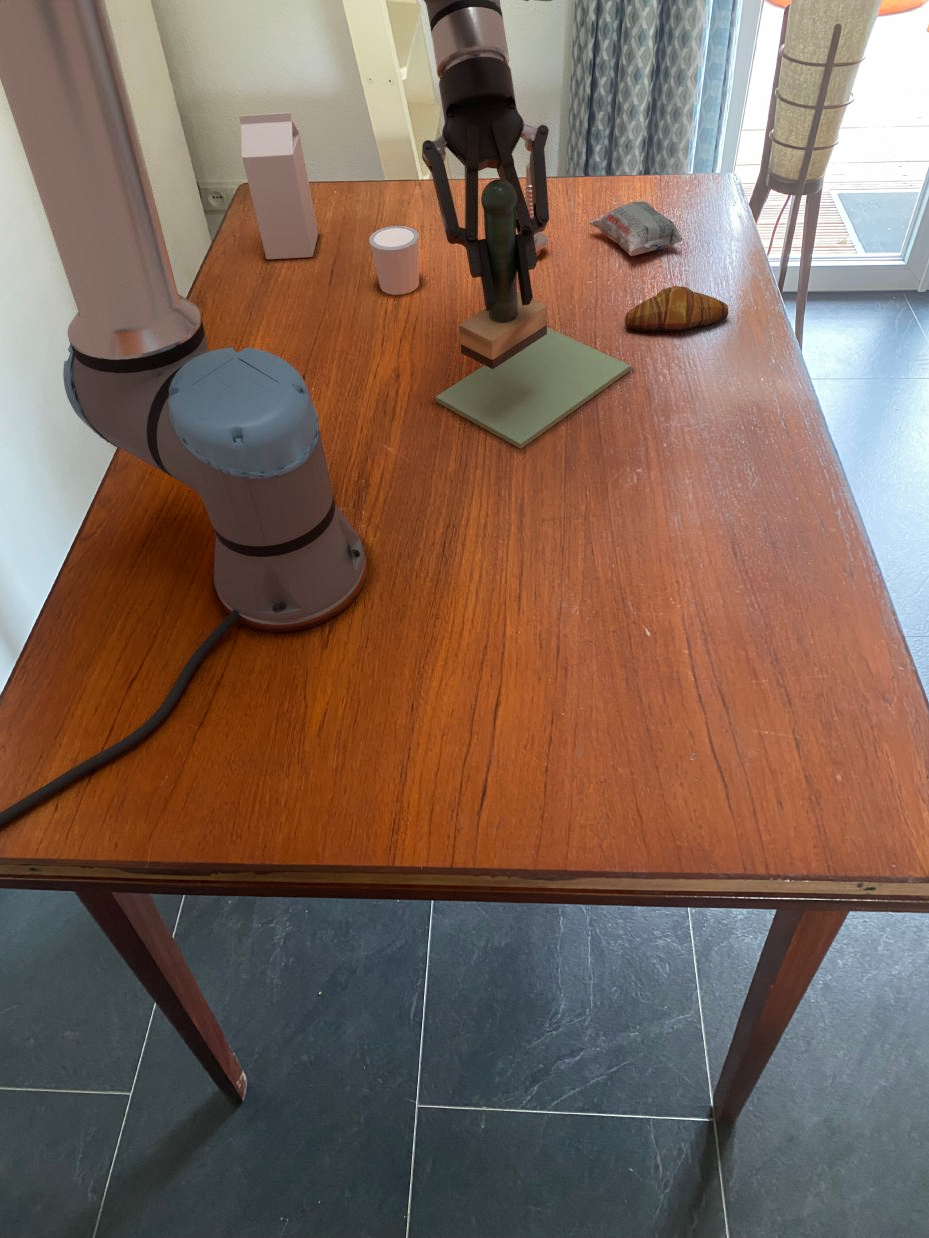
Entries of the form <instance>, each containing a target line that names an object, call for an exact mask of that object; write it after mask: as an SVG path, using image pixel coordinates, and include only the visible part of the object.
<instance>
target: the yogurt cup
mask: <svg viewBox="0 0 929 1238" xmlns="http://www.w3.org/2000/svg"><path fill="white" fill-rule="evenodd" d="M419 237H420V235H419V232H418V231H417V230H416V229H415V228H412V227H410V226H403V225H390V226H386V227H382V228H380V229H378V230H376V231H374V232H372V234H371V235H370V236H369V240H368V243H369V247H370V251H371V255H372V260H373V263H374V267H375V272H376V277H377V281H378V284H379V288H380V289H381V291H382V292H383V293H385V294H387V295H393V296H398V295H399V296H401V295H407V294H410V293H412V292H413V291H415V290H416V289H417V288H418V287H419V286H420V251H419V250H420V247H419V246H420V242H419V241H420V240H419V239H420V238H419Z"/></svg>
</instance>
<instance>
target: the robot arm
mask: <svg viewBox="0 0 929 1238" xmlns="http://www.w3.org/2000/svg"><path fill="white" fill-rule="evenodd" d="M523 1H524V2H529V1H530V0H523ZM536 1H538V2H551V1H553V0H535V2H536ZM423 2H424V4H425V5H426V10H427V17H428V21H429V22H428V23H429V27H430V35H431V39H432V46H433V54H434V61H435V66H436V75H437V77H438V79H439V82H438V90H439V96H440V101H441V107H442V114H443V120H444V123H443V127H442V130H441V132H442V133H441V135H440V136H438V137H436V138H435V139H434V140H430V139H426V140H424V141H423V143H422V144H421V145H422V148H421V159H422V160H423V163H424V164H425V165H426V167H427V169H428V170H429V172H430V173H431V178H432V180H433V185H434V190H435V195H436V199H437V202H438V207H439V211H440V216H441V219H442V224H443V228H444V231H445V237H446V241H447V242H448V243H449V244H450V245H456V244H457V245H461V246H463V247H464V248H465V251H466V256H467V257H466V258H467V263H468V268H469V269H468V270H469V275H470V276H471V278H472V279H474V278H475V279H476V278H480V281H481V286H482V287H481V288H482V293H483V300H484V307H485V309H486V311H489V310H493V309H494V306H495V303H496V302H495V296H494V289H493V283H492V276H491V269H490V263H489V256H488V250H487V243H486V239H485V238H481V239H479V172H481V171H482V170H485V169H493V170H494V169H496V172H497V175H498V177H499V178H498V179H503V180H506V181H508V182H509V183H511V184H512V185H513V187H514V188H515V190H516V193H517V205H516V252H517V281H518V287H519V293H520V294H521V300H522V306H523V305H529V304H530V302H531V300H532V299H533V298H534V295H533V290H532V289H533V288H532V284H531V283H532V281H531V275H530V271H532V270H535V269H536V266H537V262H538V257H537V255H536V248H535V242H534V235H535V234H536V233H538V232H541V233H543V232H544V231H545V230H546V228H547V226H548V223H549V221H550V208H549V195H548V181H547V167H546V166H547V165H546V154H545V148H546V144H547V140H548V136H549V132H550V129H549V127H548V126H547V125H545V124H540V125H539V126H538V127H535V126H532V125H530V124H527V123H525V122H524V121H525V120H524V119H523V117H522V115H521V114H520V112H519V111H518V107H517V102H516V95H515V89H514V83H513V75H512V69H511V66H510V65H509V63H510V55H509V48H508V41H507V36H506V31H505V30H506V29H505V24H504V17H503V11H502V6H501V0H423ZM0 82H1V85H2V88H3V91H4V94H5V97H6V101H7V104H8V106H9V109H10V112H11V115H12V118H13V122H14V124H15V127H16V130H17V133H18V137H19V139H20V142H21V144H22V149H23V151H24V154H25V157H26V160H27V163H28V166H29V168H30V172H31V174H32V177H33V180H34V183H35V187H36V190H37V193H38V196H39V198H40V201H41V204H42V208H43V211H44V213H45V216H46V219H47V222H48V225H49V228H50V231H51V234H52V237H53V241H54V243H55V247H56V249H57V252H58V255H59V259H60V261H61V264H62V267H63V270H64V273H65V276H66V279H67V281H68V284H69V287H70V291H71V294H72V297H73V299H74V302H75V305H76V308H77V313H76V315H75V316H74V317H73V319H72V320H71V321H70V323H69V325H68V327H67V338H68V342H69V346H68V348H67V351H68V352H69V355H68V359H67V360H64V361H63V370H62V371H63V374H62V377H63V379H62V380H63V385H64V391H65V394H66V397H67V399H68V402H69V403H70V406H71V407H72V410H73V412H74V413H75V414H76V416H78V418H79V419H80V420H81V421H82V423H83V424H85V425H86V426H87V427H88V428H89V429H91V430H92V432H94V433H95V434H96V435H97V436H98V437H99V438H100V439H102V440H104V441H105V442H107V443H108V444H110V445H112V446H113V447H115V448H119V449H121V450H124V451H125V452H127V453H129V454H131V455H132V456H134V457H136V458H137V459H139V460H141V461H142V462H145V463H147V464H148V465H149V466H152V467H154V468H156V469H157V470H159V471H161V472H163V473H164V474H166V475H168V476H170V477H172V478H174V479H175V480H177V481H179V482H180V483H182V484H184V485H185V486H187V487H188V488H190V489H192V490H194V491H195V492H196V493H197V495H199V497H200V498H201V500H202V502H203V504H204V507H205V510H206V512H207V515H208V518H209V521H210V523H211V526H212V528H213V531H214V534H215V544H214V564H213V565H214V566H213V582H214V587H215V590H216V593H217V595H218V598H219V600H220V603H221V605H222V606H223V608H224V609H225V611H226V613H228V615H227V616H226V617H225V618H224V619H223V620H222V621H221V623H220V624H218V626H216V628H215V629H214V630H213V631H212V632H211V633H210V634H209V635H208V636H207V637H206V638H205V640H203V642H202V643H201V644H200V645H199V646H198V647H197V648H196V649H195V651H194V652H193V653H192V655H191V656H190V657H189V659H188V661H187V662H186V664H184V667H183V668H182V669H181V671H180V673H179V675H178V676H177V679H176V681H175V683H174V684H173V685H172V687H171V689H170V691H169V693H168V695H167V696H166V698H165V699H164V701H163V702H162V703H161V705H160V706H159V708H158V709H156V711H155V712H154V713H153V714H152V715H151V716H150V717H149V718H148V719H147V720H146V721H145V722H144V723H143V724H142V725H140V726H139V727H138V728H137V729H136V730H134V731H133V732H132V733H130V734H129V735H127V736H126V737H124V738H123V739H121V740H120V741H118V742H116V743H115V744H113V745H111V746H110V747H108V748H106V749H104V750H103V751H100V752H99V753H97V754H95V755H92V756H91V757H90V758H88V759H86V760H84V761H82V762H80V763H79V764H78V765H76V766H74V767H72V768H71V769H69V770H67V771H66V772H64V773H62V774H60V775H59V776H57V777H56V778H55V779H52V780H51V781H50V782H48V783H46V784H45V785H44V786H43V785H42V786H41V787H40V788H38V789H37V790H35V791H34V792H32V793H30V794H28V795H27V796H25V797H24V798H22V799H21V800H19V801H17V802H15V803H14V804H12V805H10V806H9V807H8V808H6V809H4V810H3V811H1V812H0V827H2V826H4V825H5V824H7V823H9V822H10V821H12V820H14V819H15V818H16V817H18V816H19V815H21V814H23V813H25V812H26V811H27V810H30V809H31V808H32V807H34V806H36V805H38V804H40V802H42V801H44V800H45V799H47V798H49V797H50V796H52V795H53V794H55V793H57V792H59V791H60V790H62V789H63V788H65V787H66V786H68V785H69V784H71V783H72V782H74V781H76V780H77V779H79V778H81V777H83V776H84V775H86V774H88V773H89V772H91V771H93V770H94V769H96V768H99V767H100V766H102V765H103V764H105V763H107V762H109V761H111V760H113V759H114V758H116V757H118V756H119V755H121V754H123V753H124V752H126V751H128V750H129V749H131V748H132V747H134V746H135V745H137V744H138V743H139V742H141V741H142V740H144V738H146V737H147V736H148V735H149V734H150V733H152V732H153V731H154V730H156V728H157V727H158V726H159V725H161V723H162V722H163V721H164V720H165V719H166V718H167V716H168V715H169V714H170V713H171V712H172V710H173V709H174V708H175V706H176V705H177V703H178V701H179V700H180V698H181V696H182V694H183V692H184V691H185V689H186V687H187V685H188V683H189V681H190V679H191V678H192V676H193V674H194V672H195V671H196V669H197V668H198V666H199V665H200V663H201V662H202V661H203V659H204V658H205V657H206V656H207V654H208V653H209V652H210V651H211V650H212V649H213V647H215V646H216V644H217V643H218V642H219V641H221V639H222V638H223V637H224V636H225V635H226V633H228V631H229V630H230V629H231V628H232V627H233V626H234V625H235V624H236V623H237V622H238V623H240V624H242V625H245V626H246V627H249V628H251V629H254V630H259V631H264V632H273V633H285V632H287V633H288V632H295V631H301V630H305V629H309V628H312V627H315V626H318V625H320V624H322V623H325V622H326V621H329V620H330V619H332V618H334V617H336V616H338V615H339V614H341V612H343V611H344V610H345V609H346V608H347V607H348V606H350V605H351V604H352V603H353V601H354V600H355V599H356V598H357V596H358V595H359V593H360V592H361V590H362V589H363V587H364V584H365V582H366V580H367V579H366V578H367V573H368V561H367V557H366V552H365V551H366V550H365V547H364V544H363V541H362V539H361V537H360V536H359V534H358V532H357V531H356V529H355V528H354V527H353V526H352V524H351V523H350V521H349V520H348V518H347V516H345V515H344V513H343V512H342V510H341V509H340V507H339V506H338V504H337V503H336V501H335V496H334V492H333V488H332V483H331V478H330V474H329V468H328V463H327V459H326V454H325V449H324V445H323V440H322V435H321V429H320V425H319V416H318V412H317V408H316V407H315V404H314V401H313V399H312V397H311V394H310V391H309V389H308V387H307V384H306V382H305V379H304V378H303V377H302V375H301V374H300V373H299V371H298V370H297V369H296V368H295V367H294V366H293V365H292V364H291V363H289V362H288V361H287V360H285V359H283V358H282V357H280V356H278V355H276V354H274V353H271V352H269V351H266V350H262V349H257V348H252V347H244V348H243V349H242V350H240V351H236V350H235V348H234V347H225V348H217V349H213V350H210V348H209V343H208V340H207V335H206V331H205V326H204V323H203V318H202V314H201V311H200V309H199V308H198V306H197V305H196V304H195V303H194V302H193V301H191V300H189V299H188V298H186V297H185V296H183V295H181V294H179V292H178V289H177V284H176V281H175V276H174V271H173V267H172V263H171V260H170V255H169V252H168V248H167V244H166V240H165V236H164V232H163V228H162V225H161V220H160V216H159V212H158V207H157V204H156V200H155V195H154V192H153V191H154V190H153V188H152V183H151V180H150V175H149V172H148V168H147V164H146V159H145V156H144V152H143V148H142V143H141V140H140V135H139V132H138V128H137V122H136V119H135V115H134V111H133V109H132V103H131V100H130V96H129V92H128V88H127V84H126V80H125V75H124V71H123V67H122V64H121V59H120V56H119V51H118V47H117V43H116V40H115V36H114V31H113V27H112V25H111V20H110V16H109V11H108V7H107V4H106V0H0ZM520 139H523V141H524V148H525V149H526V151H528V152H530V154H529V163H530V174H531V188H532V202H533V215H534V218H532V219H531V217H530V214H529V211H528V208H527V204H526V199H525V194H524V192H523V189H522V185H521V182H520V179H519V177H518V173H517V170H516V167H515V160H514V159H515V158H514V156H513V153H514V151H515V149H516V147H517V145H518V143H519V141H520ZM446 149H447V150H448V151H450V152H451V154H453V156H454V157H455V158H456V159H457V160H458V162H460V163H461V164H462V165H463V166H464V227H461V226H460V223H459V219H458V216H457V212H456V207H455V204H454V198H453V194H452V189H451V185H450V182H449V181H450V180H449V177H448V172H447V169H446V165H445V161H446V156H447V153H446Z"/></svg>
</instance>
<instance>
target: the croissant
mask: <svg viewBox="0 0 929 1238" xmlns="http://www.w3.org/2000/svg"><path fill="white" fill-rule="evenodd" d="M728 316H729V305H728V304H727V303H725V302H723V301H721V300H720V299H718V298H716V297H714V296H710V295H707V294H704V293H702V292H696V291H694V290H692V289H690V288H689V287H687V286H678V285H673V286H668V287H666V288H662V289H661V290H660V291H659V292H657V293H656V295H654V296H651V297H650V298H647V299H646V300H644V301H642V302H641V303H639V304H637V305H635V306H634V307H633V308H631V309H630V310H629V311H627V312H626V314H625V317H624V325H625V327H626V328H627V329H631V330H635V331H643V332H657V331H667V332H668V331H670V332H680V331H681V332H682V331H685V330H689V329H694V328H697V327H705V326H709V325H713V324H717V323H719V322H721V321H724V320H726V319H727V318H728Z"/></svg>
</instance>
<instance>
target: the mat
mask: <svg viewBox="0 0 929 1238" xmlns="http://www.w3.org/2000/svg"><path fill="white" fill-rule="evenodd" d="M630 371H631V364H628V363H626V362H624V361H622V360H619V359H617V358H615V357H613V356H610V355H608V354H607V353H604V352H602V351H600V350H598V349H595V348H593V347H591V346H589V345H587V344H585V343H582V342H581V341H578V340H576V339H574V338H572V337H569V336H568V335H566V334H563V333H561V332H559V331H557V330H554V329H552V328H551V327H548V326H547V334H546V335H545V336H543V337H542V338H540V339H539V340H537V341H536V342H534V343H533V344H531V345H529V346H528V347H526V348H525V349H523V350H522V351H520V352H519V353H517V354H516V355H514V356H513V357H511V358H510V359H508V360H507V361H505V362H504V363H502V364H500V365H499V366H497V367H496V368H494V369H491V368H489V367H487V366H485V365H483V366H480V368H478V369H476V370H474V371H473V372H472V373H470V374H468V375H467V376H465V377H464V378H462V379H460V380H458V381H457V382H456V383H454V384H453V385H451V386H450V387H449V388H447V389H445V390H443V391H442V392H441V393H439V394H437V395H436V396H435V402H436V403H437V404H439V405H440V406H443V407H444V408H446V409H448V410H450V411H452V412H454V413H455V414H457V415H459V416H460V417H463V418H464V419H466V420H468V421H469V422H471V423H472V424H475V425H477V426H479V427H480V428H482V429H484V430H485V431H487V432H489V433H490V434H492V435H494V436H496V437H498V438H500V439H502V440H504V441H505V442H507V443H509V444H510V445H512V446H514V447H516V448H518V449H519V450H522V449H523V448H525V447H526V446H527V445H529V444H530V443H532V442H533V441H534V440H535V439H537V438H538V437H540V436H541V435H543V434H544V433H546V432H547V431H549V430H550V429H551V428H552V427H554V426H555V425H557V424H558V423H559V422H561V421H562V420H564V419H565V418H567V417H568V416H569V415H570V414H572V413H573V412H575V411H577V409H579V408H580V407H582V406H583V405H584V404H586V403H587V402H588V401H590V400H591V399H593V398H594V397H595V396H597V395H599V393H601V392H602V391H604V390H605V389H606V388H609V386H611V385H612V384H613V383H615V382H616V381H618V380H619V379H620V378H621V377H623V376H625V375H626V374H628V373H629V372H630Z"/></svg>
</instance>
